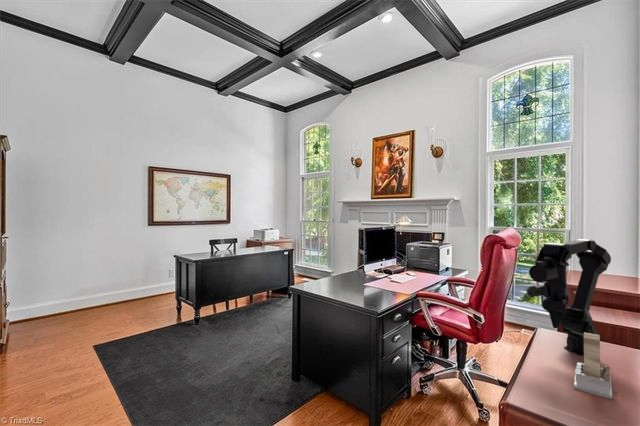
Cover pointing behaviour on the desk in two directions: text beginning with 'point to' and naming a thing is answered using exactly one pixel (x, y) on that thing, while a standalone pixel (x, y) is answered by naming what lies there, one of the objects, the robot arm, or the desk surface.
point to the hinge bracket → (593, 381)
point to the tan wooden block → (592, 354)
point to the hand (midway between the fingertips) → (556, 324)
